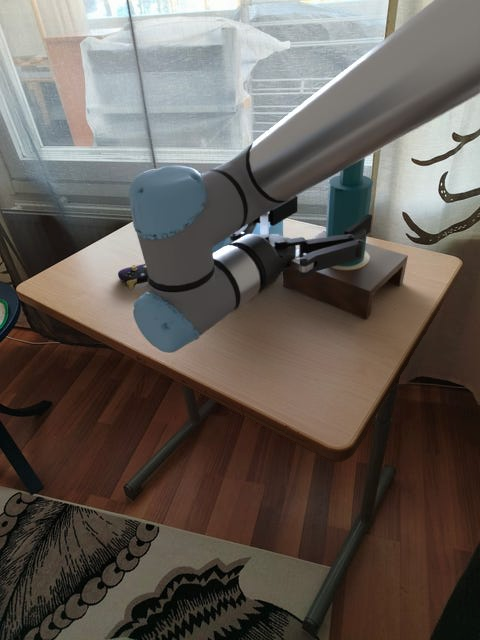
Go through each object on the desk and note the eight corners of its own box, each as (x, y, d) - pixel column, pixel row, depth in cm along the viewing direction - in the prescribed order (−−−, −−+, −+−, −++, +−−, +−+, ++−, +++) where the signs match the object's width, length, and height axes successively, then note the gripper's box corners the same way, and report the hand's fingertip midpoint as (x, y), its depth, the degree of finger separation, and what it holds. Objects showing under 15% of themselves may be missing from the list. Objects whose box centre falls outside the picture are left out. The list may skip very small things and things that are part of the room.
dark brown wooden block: (402, 283, 80) (408, 254, 77) (366, 319, 73) (370, 290, 69) (322, 256, 90) (323, 229, 87) (282, 285, 83) (282, 258, 79)
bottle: (371, 253, 78) (384, 153, 67) (351, 270, 74) (361, 167, 63) (337, 243, 82) (345, 147, 71) (317, 259, 78) (321, 159, 67)
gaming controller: (162, 262, 92) (162, 254, 86) (168, 285, 91) (168, 279, 85) (117, 272, 90) (114, 264, 84) (124, 296, 89) (121, 290, 83)
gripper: (183, 266, 65) (270, 216, 77) (320, 328, 51) (400, 255, 63) (175, 221, 60) (268, 175, 72) (323, 276, 46) (409, 208, 58)
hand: (330, 212), depth 67 cm, fingers open, 13 cm apart
